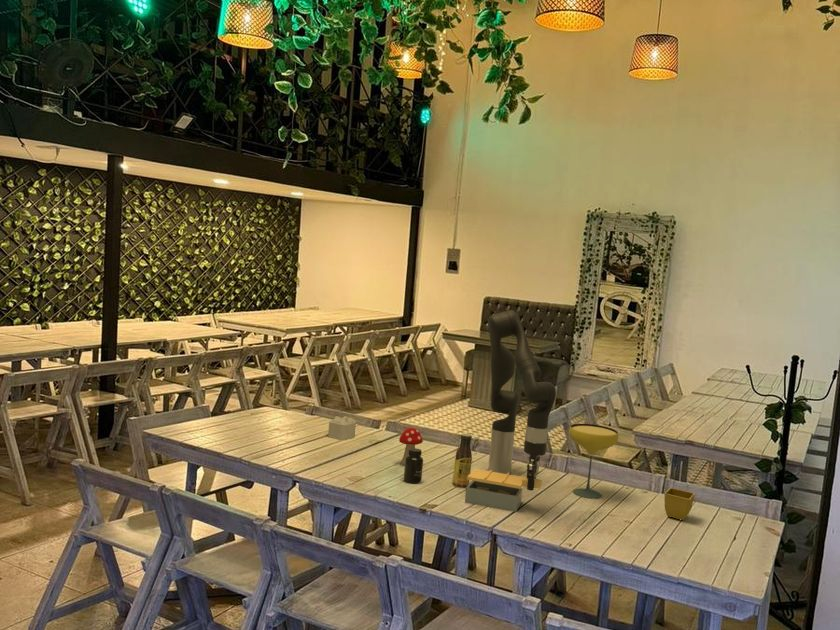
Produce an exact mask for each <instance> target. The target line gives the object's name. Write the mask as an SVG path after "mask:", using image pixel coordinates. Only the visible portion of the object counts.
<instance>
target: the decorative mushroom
mask: <svg viewBox="0 0 840 630" xmlns="http://www.w3.org/2000/svg"><path fill="white" fill-rule="evenodd" d="M423 441H424V440H423V436H422V434H421V432H420V431H419V429H417V428H415V427H409V428H406V429H405V430H403V432H402V433H401V435H400V436H399V441H398V442H399V443H400V444H403V445H405V447H404V448H405V449H404V452H403V456H402V457H401V460H400V461H401V465H402V464H403V465H402V466H404V465H405V459H406V457H407V456H408V455H409V454H408V453H409V449H411V448H416V445H420V444H423Z"/></svg>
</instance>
